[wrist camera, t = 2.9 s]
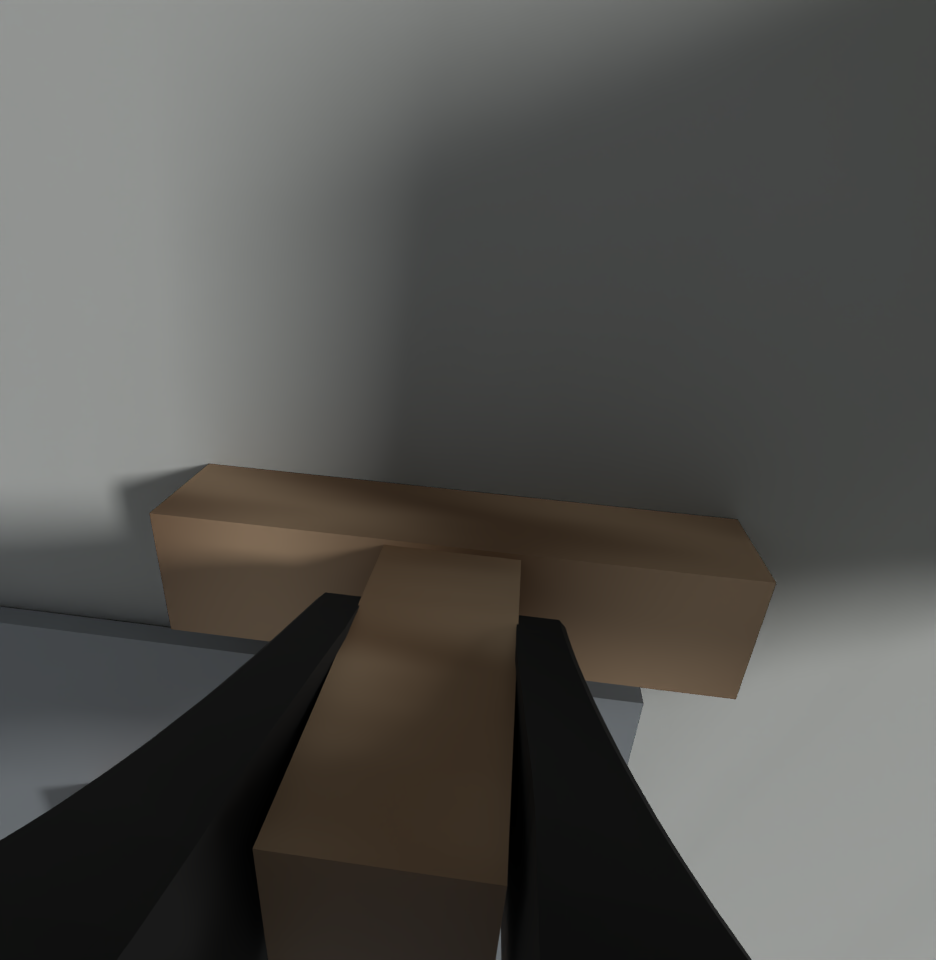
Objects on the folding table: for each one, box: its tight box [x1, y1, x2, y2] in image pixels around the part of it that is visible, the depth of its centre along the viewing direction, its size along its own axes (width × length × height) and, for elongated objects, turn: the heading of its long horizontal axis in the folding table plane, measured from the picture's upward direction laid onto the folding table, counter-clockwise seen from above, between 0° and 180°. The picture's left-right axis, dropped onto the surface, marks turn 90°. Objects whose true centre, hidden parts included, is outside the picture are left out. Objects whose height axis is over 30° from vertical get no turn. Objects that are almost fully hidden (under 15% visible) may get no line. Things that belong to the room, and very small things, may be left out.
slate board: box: [0, 607, 643, 960], centre depth 18 cm, size 20×22×1 cm
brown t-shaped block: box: [150, 464, 776, 960], centre depth 9 cm, size 10×2×7 cm, turn 86°
